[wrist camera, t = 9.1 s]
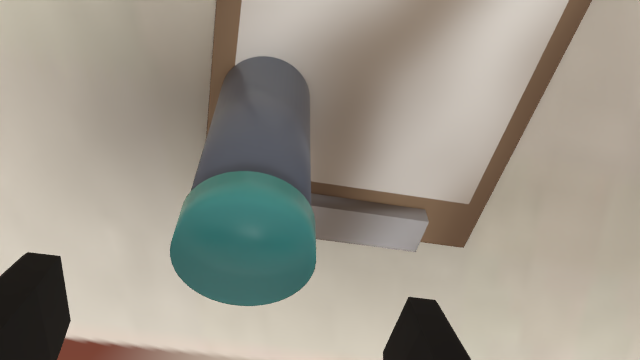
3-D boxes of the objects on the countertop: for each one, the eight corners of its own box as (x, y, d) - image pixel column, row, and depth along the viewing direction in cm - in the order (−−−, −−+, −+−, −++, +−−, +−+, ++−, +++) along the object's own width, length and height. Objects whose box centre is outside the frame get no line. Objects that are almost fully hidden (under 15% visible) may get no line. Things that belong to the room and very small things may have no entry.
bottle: (321, 63, 17) (330, 216, 11) (303, 144, 19) (301, 312, 13) (222, 44, 17) (172, 193, 11) (214, 129, 19) (168, 297, 13)
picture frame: (668, -165, 14) (695, -163, 13) (461, 241, 23) (468, 260, 22) (239, -280, 12) (233, -287, 11) (202, 206, 22) (197, 225, 21)
